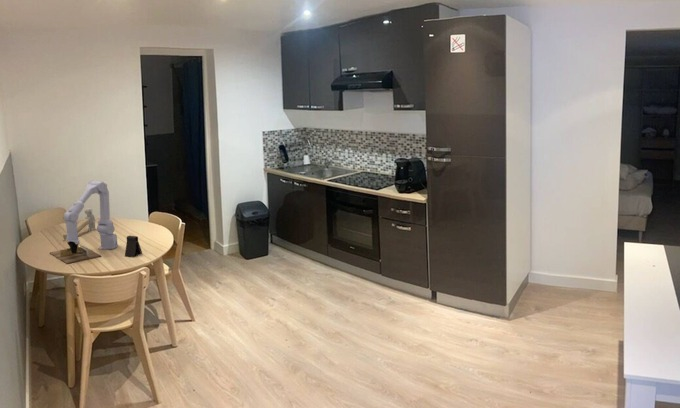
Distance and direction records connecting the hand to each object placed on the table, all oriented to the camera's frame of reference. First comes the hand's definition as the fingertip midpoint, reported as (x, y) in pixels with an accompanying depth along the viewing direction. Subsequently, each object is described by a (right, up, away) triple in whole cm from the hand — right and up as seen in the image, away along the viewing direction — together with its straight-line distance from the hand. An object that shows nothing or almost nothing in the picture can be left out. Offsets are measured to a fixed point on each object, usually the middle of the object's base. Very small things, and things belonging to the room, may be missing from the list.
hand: (74, 253), depth 328 cm
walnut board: (-2, -2, +5) cm, 6 cm away
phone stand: (+33, -2, +7) cm, 34 cm away
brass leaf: (-3, -1, +3) cm, 5 cm away
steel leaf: (+4, -1, +4) cm, 6 cm away
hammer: (-20, +8, +49) cm, 54 cm away
